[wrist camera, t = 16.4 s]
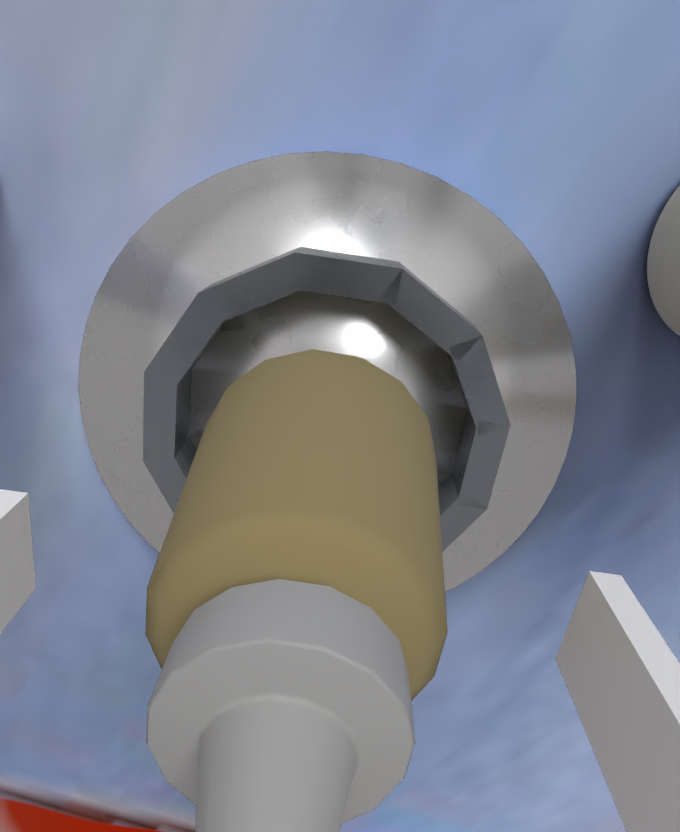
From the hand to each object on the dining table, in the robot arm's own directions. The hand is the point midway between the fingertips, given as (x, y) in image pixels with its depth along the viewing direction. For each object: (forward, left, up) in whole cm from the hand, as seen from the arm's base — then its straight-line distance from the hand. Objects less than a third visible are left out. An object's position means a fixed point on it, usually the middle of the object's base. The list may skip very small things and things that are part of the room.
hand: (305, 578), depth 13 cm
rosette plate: (0, 0, -12) cm, 12 cm away
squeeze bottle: (0, 0, -10) cm, 10 cm away
